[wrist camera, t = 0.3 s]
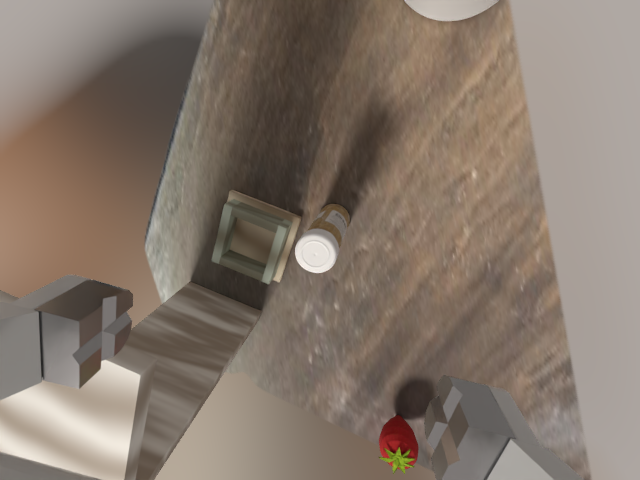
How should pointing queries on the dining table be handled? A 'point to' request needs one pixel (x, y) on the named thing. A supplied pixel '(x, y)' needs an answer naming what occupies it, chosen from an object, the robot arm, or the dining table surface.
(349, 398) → the dining table surface
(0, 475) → the robot arm
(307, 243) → the sprinkles bottle
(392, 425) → the strawberry
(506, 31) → the dining table surface
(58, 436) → the awning socket
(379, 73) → the dining table surface
